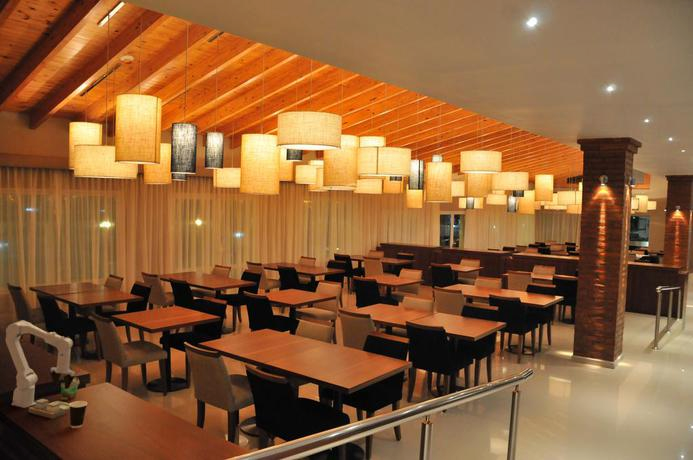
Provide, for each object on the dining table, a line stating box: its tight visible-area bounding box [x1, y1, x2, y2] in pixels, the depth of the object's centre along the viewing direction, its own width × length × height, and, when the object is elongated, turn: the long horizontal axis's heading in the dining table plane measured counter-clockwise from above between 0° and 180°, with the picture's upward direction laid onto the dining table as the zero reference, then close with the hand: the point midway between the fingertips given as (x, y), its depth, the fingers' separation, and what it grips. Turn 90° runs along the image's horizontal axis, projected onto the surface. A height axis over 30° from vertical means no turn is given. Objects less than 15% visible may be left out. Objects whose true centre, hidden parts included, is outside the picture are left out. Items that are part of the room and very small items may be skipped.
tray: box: [54, 400, 70, 411], centre depth 273 cm, size 12×10×1 cm
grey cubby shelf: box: [28, 405, 67, 420], centre depth 265 cm, size 16×8×3 cm, turn 71°
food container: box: [60, 376, 80, 401], centre depth 288 cm, size 12×6×10 cm, turn 179°
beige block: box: [34, 398, 49, 410], centre depth 266 cm, size 4×4×6 cm
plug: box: [47, 401, 60, 413], centre depth 263 cm, size 4×4×6 cm
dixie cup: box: [69, 400, 88, 429], centre depth 253 cm, size 8×8×11 cm
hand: (61, 387), depth 275 cm, fingers open, 7 cm apart
